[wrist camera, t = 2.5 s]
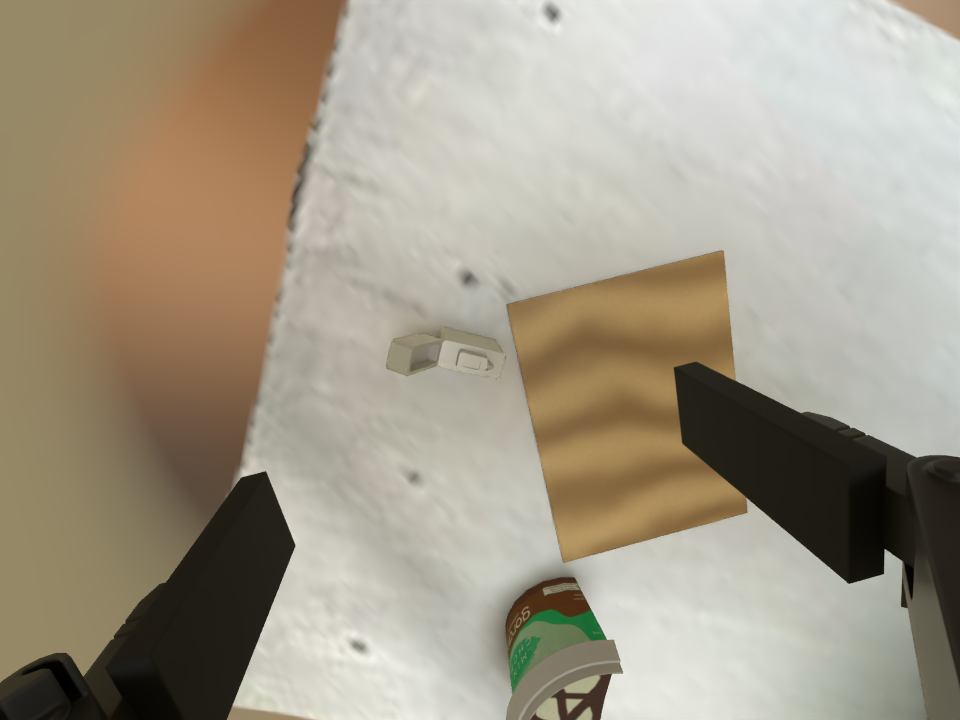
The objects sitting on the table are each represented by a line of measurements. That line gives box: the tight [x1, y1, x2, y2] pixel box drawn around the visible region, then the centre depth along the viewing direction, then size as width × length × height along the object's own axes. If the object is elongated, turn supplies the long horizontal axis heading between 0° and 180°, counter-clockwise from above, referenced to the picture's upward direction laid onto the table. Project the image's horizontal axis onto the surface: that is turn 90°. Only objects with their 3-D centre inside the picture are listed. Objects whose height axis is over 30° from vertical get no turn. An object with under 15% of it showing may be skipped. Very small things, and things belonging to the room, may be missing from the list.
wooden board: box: [506, 251, 747, 563], centre depth 37 cm, size 22×16×1 cm
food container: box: [506, 578, 623, 720], centre depth 37 cm, size 12×6×10 cm, turn 170°
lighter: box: [386, 327, 506, 379], centre depth 31 cm, size 7×2×8 cm, turn 75°
